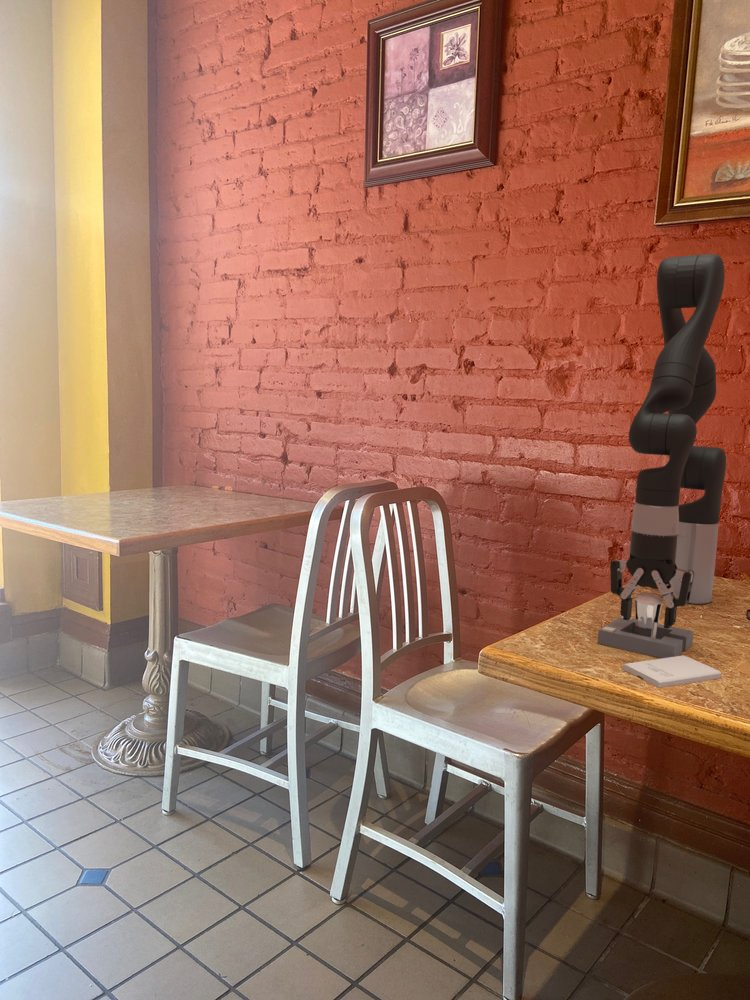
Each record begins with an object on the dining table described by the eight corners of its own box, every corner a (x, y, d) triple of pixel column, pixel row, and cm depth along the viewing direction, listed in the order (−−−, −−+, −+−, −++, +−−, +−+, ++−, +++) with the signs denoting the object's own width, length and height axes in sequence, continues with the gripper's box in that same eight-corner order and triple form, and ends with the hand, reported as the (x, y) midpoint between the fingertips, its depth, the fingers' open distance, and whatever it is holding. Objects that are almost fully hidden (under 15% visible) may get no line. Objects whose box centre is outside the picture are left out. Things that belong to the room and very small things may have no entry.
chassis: (619, 629, 140) (620, 614, 140) (692, 644, 132) (693, 629, 132) (597, 643, 132) (598, 628, 131) (673, 661, 124) (675, 644, 123)
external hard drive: (720, 681, 117) (658, 691, 112) (681, 663, 124) (621, 671, 120) (721, 671, 116) (659, 681, 112) (682, 654, 124) (622, 662, 119)
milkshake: (665, 650, 129) (670, 593, 128) (633, 647, 130) (637, 591, 129) (661, 642, 133) (666, 587, 132) (630, 639, 135) (634, 584, 133)
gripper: (704, 532, 128) (695, 627, 130) (621, 522, 136) (614, 610, 139) (692, 538, 122) (683, 637, 124) (605, 527, 130) (599, 619, 133)
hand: (646, 622), depth 131 cm, fingers open, 6 cm apart
